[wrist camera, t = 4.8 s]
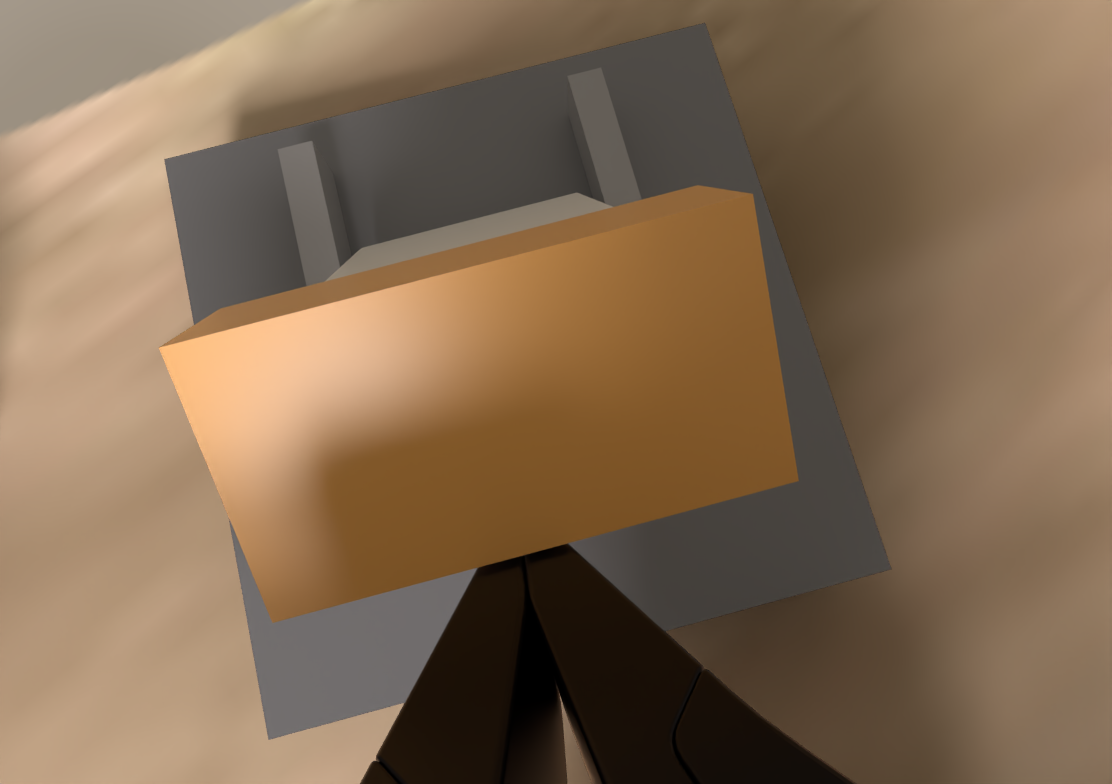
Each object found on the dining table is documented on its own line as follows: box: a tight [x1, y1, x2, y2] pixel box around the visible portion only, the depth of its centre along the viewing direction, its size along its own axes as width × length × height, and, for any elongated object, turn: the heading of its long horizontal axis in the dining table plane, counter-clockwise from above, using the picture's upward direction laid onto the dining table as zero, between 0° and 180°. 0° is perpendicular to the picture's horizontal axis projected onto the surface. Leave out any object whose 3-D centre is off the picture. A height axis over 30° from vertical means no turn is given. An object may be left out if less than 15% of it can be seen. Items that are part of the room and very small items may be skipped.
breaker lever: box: [159, 185, 799, 623], centre depth 13 cm, size 3×6×10 cm, turn 105°
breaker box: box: [164, 23, 891, 740], centre depth 20 cm, size 14×14×5 cm
